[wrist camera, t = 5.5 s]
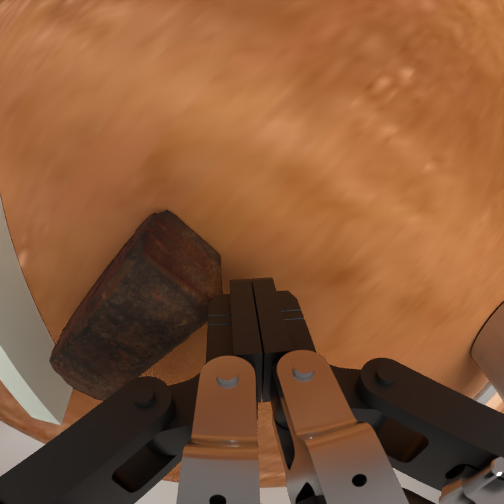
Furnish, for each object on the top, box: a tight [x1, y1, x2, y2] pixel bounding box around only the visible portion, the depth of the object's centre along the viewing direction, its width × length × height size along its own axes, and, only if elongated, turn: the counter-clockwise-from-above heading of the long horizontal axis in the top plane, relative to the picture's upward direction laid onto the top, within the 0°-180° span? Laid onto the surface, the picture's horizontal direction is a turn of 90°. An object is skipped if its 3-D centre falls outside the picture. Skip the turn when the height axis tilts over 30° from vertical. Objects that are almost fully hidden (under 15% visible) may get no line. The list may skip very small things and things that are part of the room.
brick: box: [49, 210, 223, 401], centre depth 12 cm, size 11×4×5 cm, turn 133°
